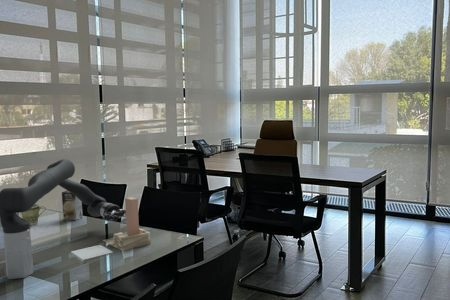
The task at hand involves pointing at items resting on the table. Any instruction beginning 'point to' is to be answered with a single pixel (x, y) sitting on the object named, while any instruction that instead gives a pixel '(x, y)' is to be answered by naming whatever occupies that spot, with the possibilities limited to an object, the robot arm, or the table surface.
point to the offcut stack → (118, 239)
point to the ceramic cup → (32, 214)
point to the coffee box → (71, 206)
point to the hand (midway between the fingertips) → (125, 216)
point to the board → (132, 216)
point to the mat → (90, 252)
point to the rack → (132, 240)
